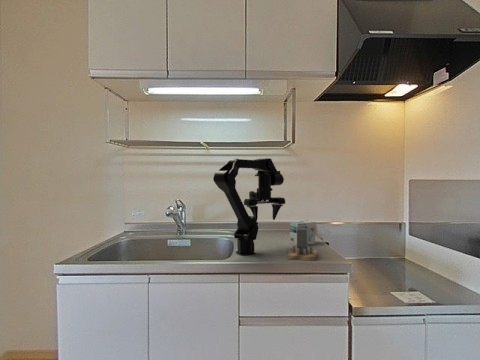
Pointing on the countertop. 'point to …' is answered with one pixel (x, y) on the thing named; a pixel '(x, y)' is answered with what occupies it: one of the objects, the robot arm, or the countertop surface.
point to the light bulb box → (302, 224)
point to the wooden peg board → (297, 256)
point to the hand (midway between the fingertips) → (265, 220)
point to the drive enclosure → (302, 239)
